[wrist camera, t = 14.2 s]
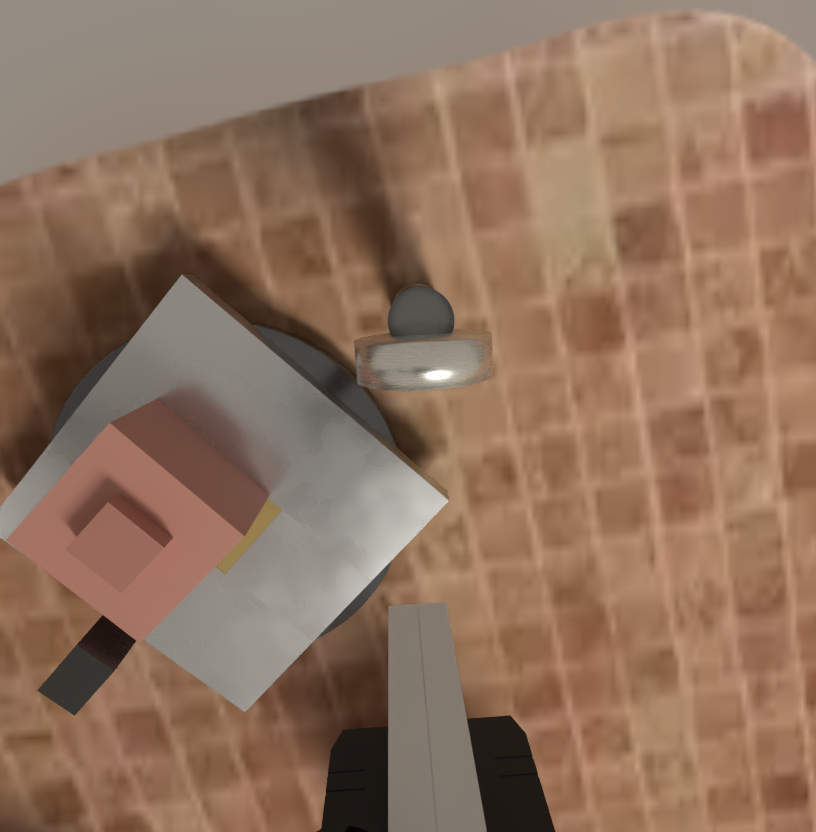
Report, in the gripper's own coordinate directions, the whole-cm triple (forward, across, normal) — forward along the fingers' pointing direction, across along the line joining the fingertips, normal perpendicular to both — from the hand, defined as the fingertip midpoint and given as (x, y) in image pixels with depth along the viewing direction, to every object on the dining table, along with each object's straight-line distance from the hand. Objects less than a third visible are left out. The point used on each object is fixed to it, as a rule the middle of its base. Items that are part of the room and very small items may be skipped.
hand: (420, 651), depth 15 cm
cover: (+10, -10, +1) cm, 14 cm away
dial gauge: (+12, +1, +8) cm, 15 cm away
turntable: (+11, -8, 0) cm, 14 cm away
